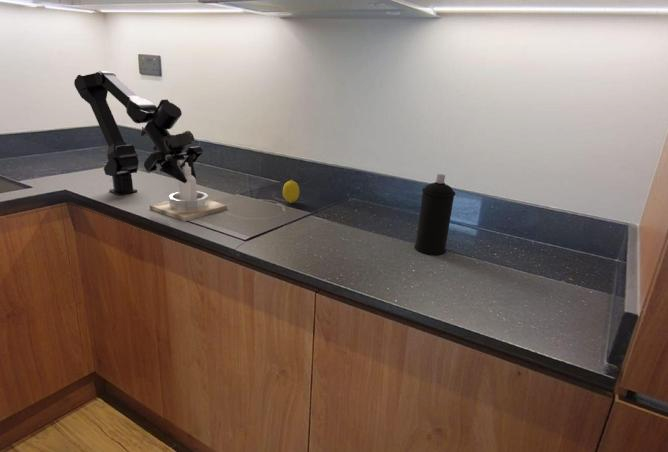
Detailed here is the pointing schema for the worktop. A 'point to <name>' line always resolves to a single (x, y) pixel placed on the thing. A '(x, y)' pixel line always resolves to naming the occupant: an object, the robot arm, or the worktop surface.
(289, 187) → the lemon
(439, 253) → the aerosol can
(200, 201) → the collar
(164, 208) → the base plate
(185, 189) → the eye dropper bottle
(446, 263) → the worktop surface
